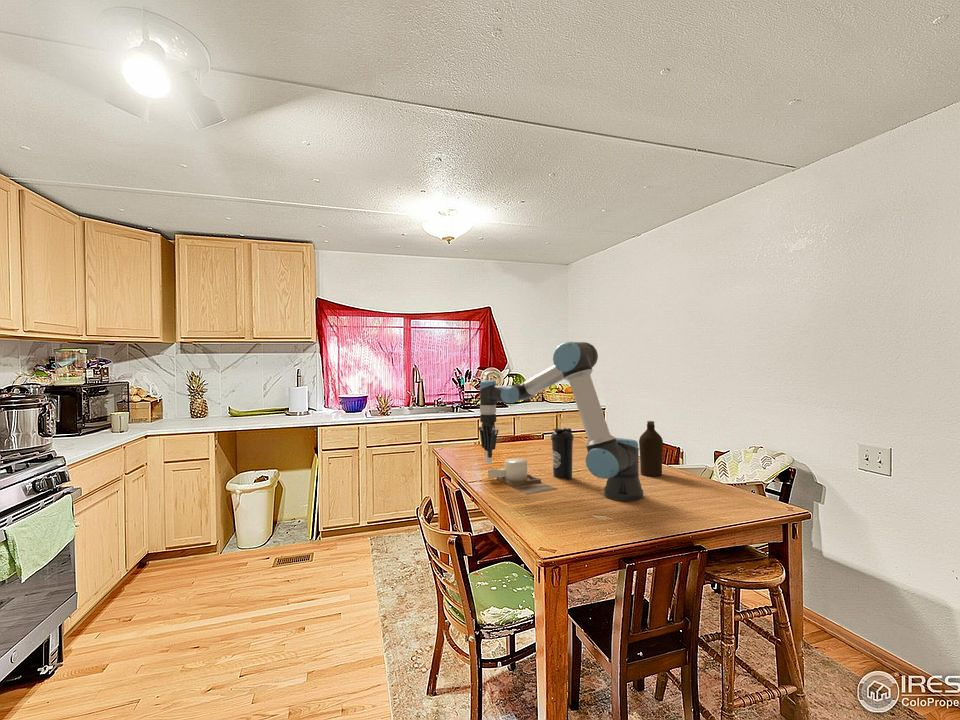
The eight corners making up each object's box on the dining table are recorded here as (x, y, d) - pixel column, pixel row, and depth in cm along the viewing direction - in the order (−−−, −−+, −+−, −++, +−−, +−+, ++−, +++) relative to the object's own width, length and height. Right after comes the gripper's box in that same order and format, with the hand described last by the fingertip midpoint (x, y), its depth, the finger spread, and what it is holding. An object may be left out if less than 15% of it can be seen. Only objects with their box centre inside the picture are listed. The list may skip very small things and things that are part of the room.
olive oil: (666, 477, 218) (665, 423, 217) (642, 477, 219) (641, 423, 218) (659, 471, 228) (659, 419, 228) (637, 471, 229) (636, 419, 229)
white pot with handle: (526, 478, 216) (526, 458, 216) (528, 484, 206) (527, 463, 206) (488, 478, 217) (488, 458, 217) (487, 484, 207) (487, 463, 207)
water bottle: (547, 476, 222) (546, 427, 221) (565, 474, 226) (564, 426, 226) (559, 482, 212) (559, 430, 212) (578, 479, 217) (577, 429, 216)
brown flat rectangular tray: (558, 491, 198) (557, 485, 198) (527, 496, 191) (527, 491, 191) (523, 476, 222) (523, 471, 222) (495, 481, 215) (495, 475, 215)
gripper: (503, 414, 218) (503, 465, 218) (486, 411, 228) (487, 460, 229) (489, 415, 213) (490, 468, 214) (473, 412, 224) (474, 462, 225)
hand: (488, 463), depth 221 cm, fingers closed
